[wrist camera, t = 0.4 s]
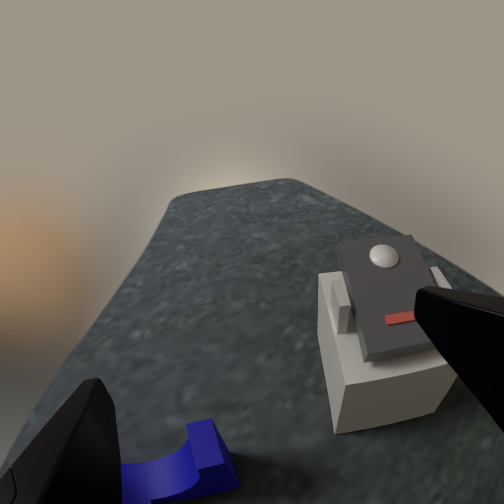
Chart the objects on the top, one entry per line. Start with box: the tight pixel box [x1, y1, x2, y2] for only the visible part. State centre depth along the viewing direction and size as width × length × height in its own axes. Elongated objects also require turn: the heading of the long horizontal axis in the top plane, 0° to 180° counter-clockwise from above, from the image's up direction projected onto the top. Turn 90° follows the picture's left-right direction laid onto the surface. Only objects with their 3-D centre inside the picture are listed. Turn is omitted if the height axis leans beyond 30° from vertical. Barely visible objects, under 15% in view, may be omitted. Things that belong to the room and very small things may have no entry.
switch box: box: [318, 267, 458, 434], centre depth 21 cm, size 10×8×9 cm
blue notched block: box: [121, 418, 241, 504], centre depth 15 cm, size 12×4×6 cm, turn 107°
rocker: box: [337, 235, 436, 363], centre depth 19 cm, size 8×6×1 cm, turn 0°
